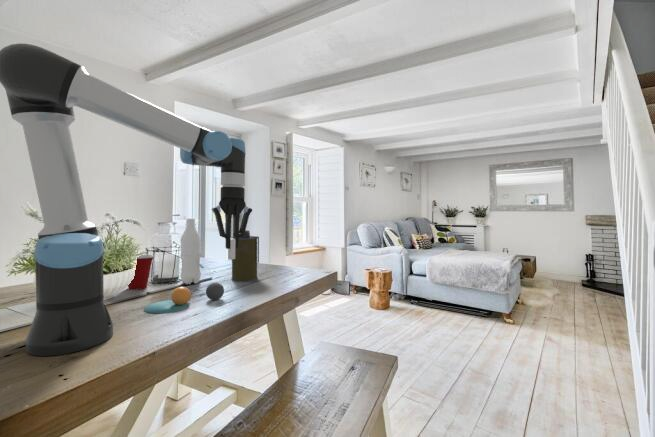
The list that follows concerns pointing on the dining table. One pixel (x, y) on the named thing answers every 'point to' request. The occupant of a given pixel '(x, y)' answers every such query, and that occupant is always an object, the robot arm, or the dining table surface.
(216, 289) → the dark gray ball
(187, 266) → the water bottle
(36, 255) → the robot arm
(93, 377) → the dining table surface
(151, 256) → the plastic cup
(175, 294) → the orange ball
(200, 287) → the dining table surface
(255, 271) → the canister
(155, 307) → the teal mark
